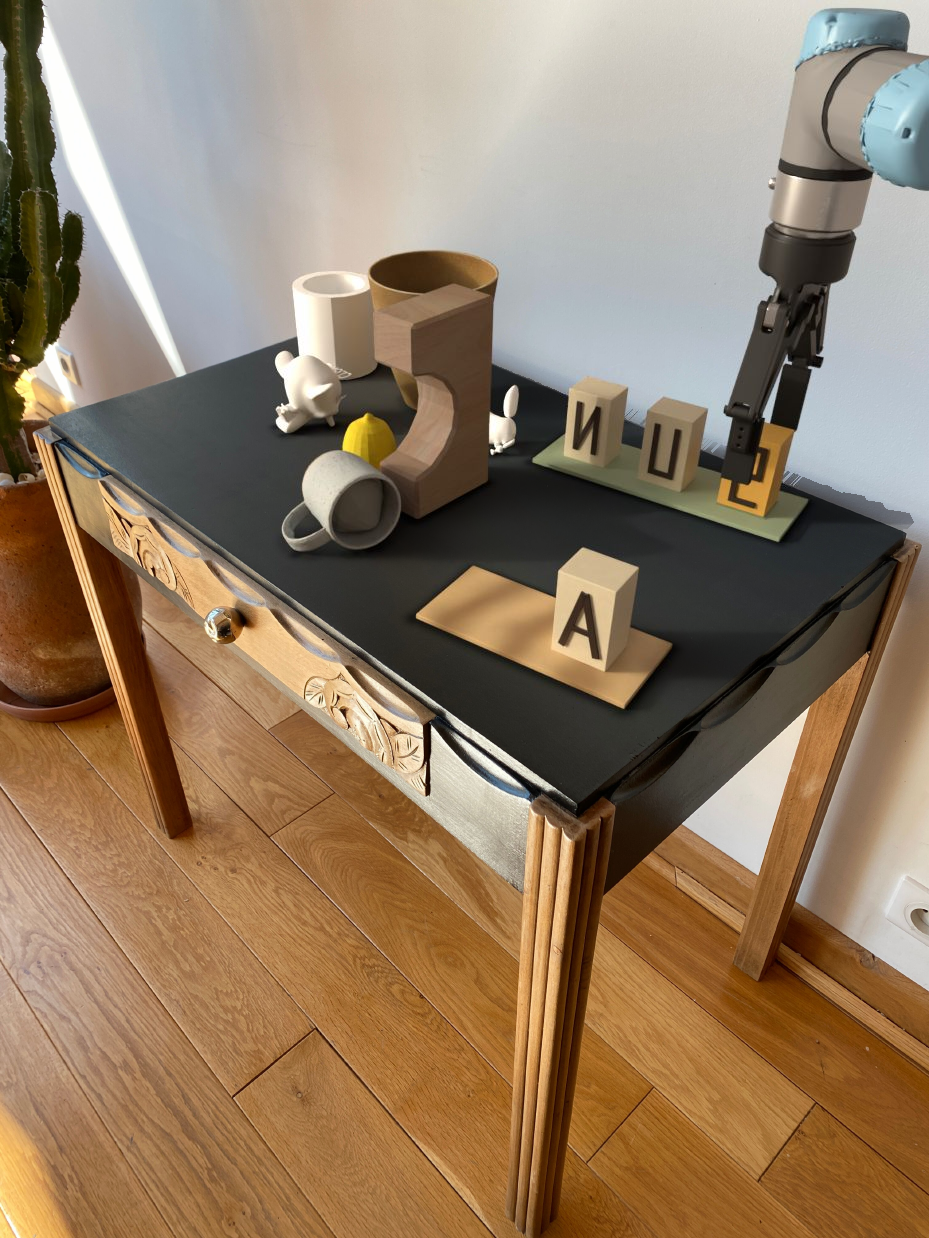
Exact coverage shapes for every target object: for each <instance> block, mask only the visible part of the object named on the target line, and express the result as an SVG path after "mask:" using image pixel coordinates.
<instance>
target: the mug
mask: <svg viewBox="0 0 929 1238" xmlns="http://www.w3.org/2000/svg"><path fill="white" fill-rule="evenodd" d="M291 285H292V294H293V295H292V296H293V305H294V314H295V315H294V316H295V324H296V325H295V326H296V334H297V335H296V336H297V345H298V354H299V355H298V356H302V355H311V356H314V357H316V358H318V359H320V360H321V361H322V362H324V363H325V364H326V363H330V364H331V365H332V366H331V365H330V364H329V366H331V367H334V366H336V367H334V368H337V369H343V370H342V371H341V372H339V371H340V370H336V369H334V368H332V369H333V370H335V371H334V372H335V373H336V375H339V376H340V377H345V376H348V375H349V374H347V373H351V375H350V376H348V377H345V378H338V379H339V381H347V380H348V381H349V380H352V379H357V378H358V379H359V378H361V377H364V376H366V375H369V374H371V373H372V372H374V371H375V370H376V369H377V366H378V362H377V361H376V360H375V348H374V324H373V313H374V312H375V310H374V305H373V300H372V296H371V291H370V285H369V280H368V275H367V274H363V273H360V272H354V271H348V270H323V271H318V272H311V273H308V274H303V275H301V276H300V277H298V278H296V279H295V280H294V281H293V282H292V284H291ZM327 365H328V364H327ZM343 371H346V372H347V373H345V374H342V373H344V372H343ZM337 372H339V373H337ZM340 374H342V375H340ZM339 376H337V377H339Z"/></svg>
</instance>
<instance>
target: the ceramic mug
mask: <svg viewBox="0 0 929 1238" xmlns="http://www.w3.org/2000/svg"><path fill="white" fill-rule="evenodd" d="M301 491H302V497H303V501H302V502H301V503H300V504H298V505H297V506H296V507H294V508H293V509H292V510H291V511H290V512H289V513H288V514H287V515H286V517H285V518H284V519H283V522H282V526H281V533H282V536H283V537H284V539H285V541H286V543H287V544H288V545H289V546H290V547H291V548H292V549H293V550H294V551H297V552H311V551H314V550H316V549H318V548H320V547H322V546H324V545H326V544H328V543H329V542H331V541H334V542H335V543H336V544H338V545H339V546H341V547H343V548H345V549H348V550H355V551H357V550H366V549H369V548H371V547H375V546H377V545H379V544H380V543H381V542H383V541H384V540H386V538H387V537H388V536H389V535H390V534H391V533H392V532H393V531H394V529H395V528H396V526H397V524H398V521H399V519H400V516H401V512H402V511H401V497H400V493H399V491H398V488H397V487H396V485H395V484H394V483H393V481H392V480H390V479H389V478H388V477H387V476H385V475H384V474H382V473H381V472H380V471H378V470H377V469H376V468H374V467H373V466H372V465H370V464H369V463H368V462H366V461H365V460H364V459H362V458H361V457H360V456H358V455H356V454H353V453H351V452H347V451H343V449H337V450H330V451H327V452H324V453H322V454H320V455H318V456H317V457H316V458H315V459H314V460H313V461H311V463H310V464H309V465H308V467H307V468H306V470H305V472H304V475H303V477H302V482H301ZM311 514H312V515H313V517H314V518H315V519H316V520H317V521H318V522H319V523H320V525H321V527H322V528H320V529H319V530H317V531H316V532H314V533H312V534H310V535H307V536H304V537H300V538H295V532H294V530H295V529H296V527H297V526H298V525H299V524H300V523H301V522H302V521H303V520H304V519H306V517H308V516H309V515H311Z"/></svg>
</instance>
